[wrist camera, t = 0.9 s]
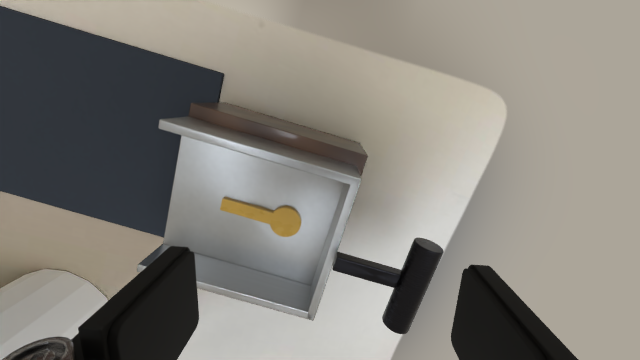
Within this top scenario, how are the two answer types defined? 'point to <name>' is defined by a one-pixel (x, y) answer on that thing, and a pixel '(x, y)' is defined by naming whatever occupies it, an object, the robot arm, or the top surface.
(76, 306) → the container
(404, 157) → the top surface
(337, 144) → the stand
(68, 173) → the mat
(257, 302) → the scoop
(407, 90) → the top surface
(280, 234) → the spoon
